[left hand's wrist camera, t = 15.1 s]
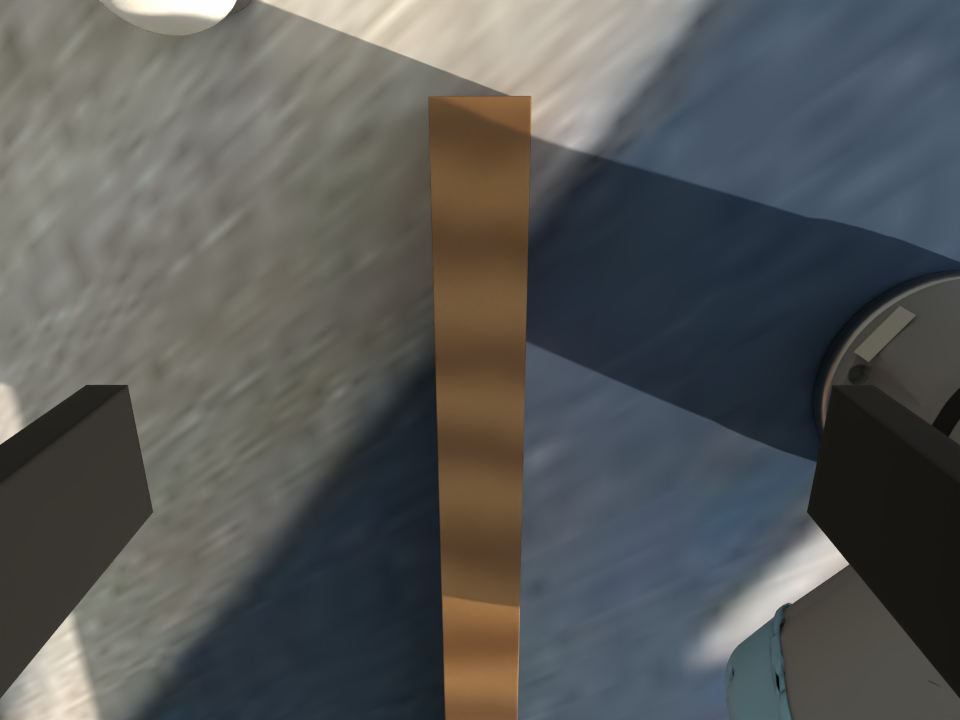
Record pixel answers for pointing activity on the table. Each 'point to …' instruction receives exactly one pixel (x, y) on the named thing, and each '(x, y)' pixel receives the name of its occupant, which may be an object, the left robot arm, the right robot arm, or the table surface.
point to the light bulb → (174, 14)
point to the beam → (480, 389)
